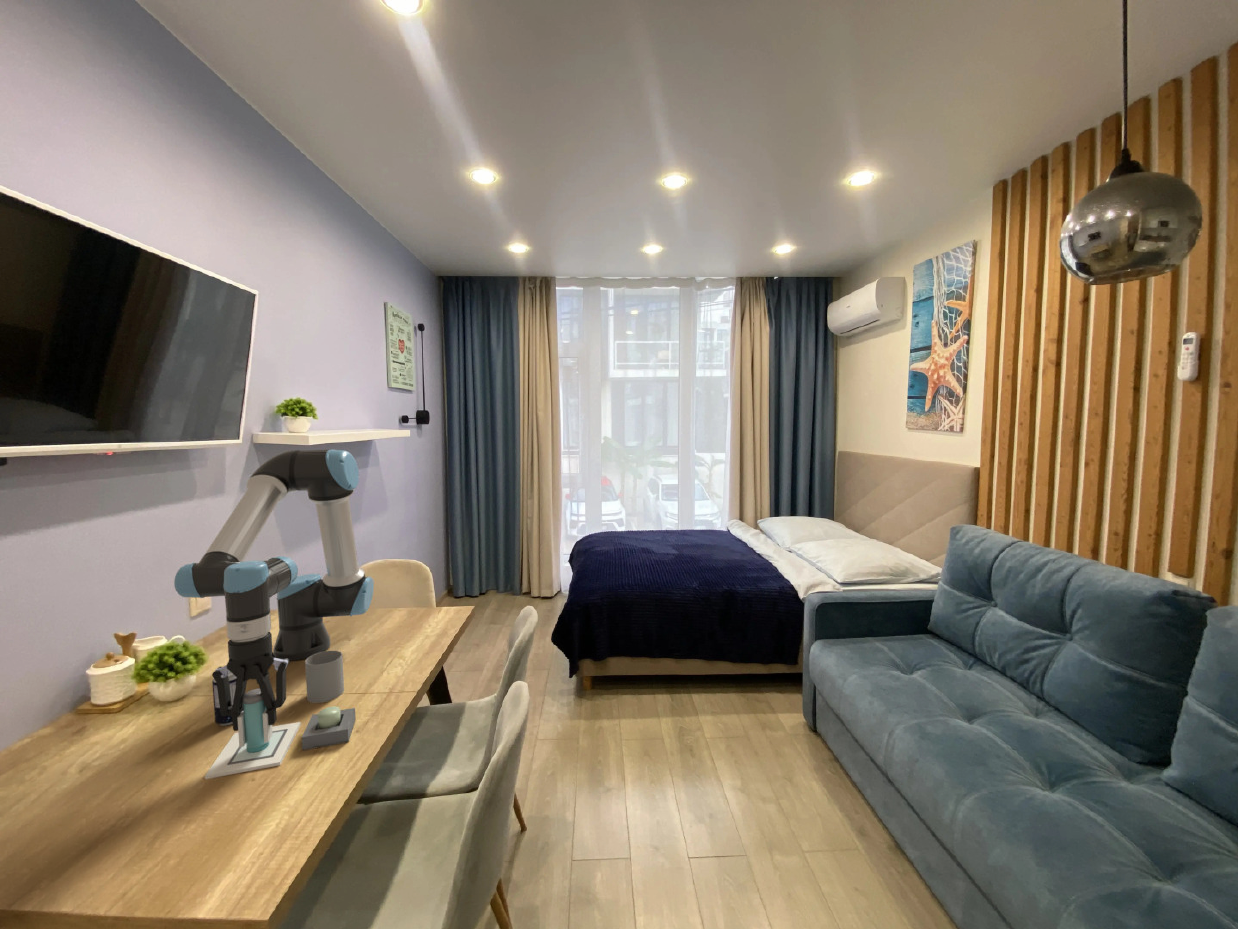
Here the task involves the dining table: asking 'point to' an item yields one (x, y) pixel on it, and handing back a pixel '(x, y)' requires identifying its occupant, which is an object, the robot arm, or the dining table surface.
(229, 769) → the picture board
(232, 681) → the beverage can
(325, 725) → the button
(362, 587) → the robot arm
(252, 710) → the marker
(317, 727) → the button housing
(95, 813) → the dining table surface
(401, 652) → the dining table surface
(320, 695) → the cup
